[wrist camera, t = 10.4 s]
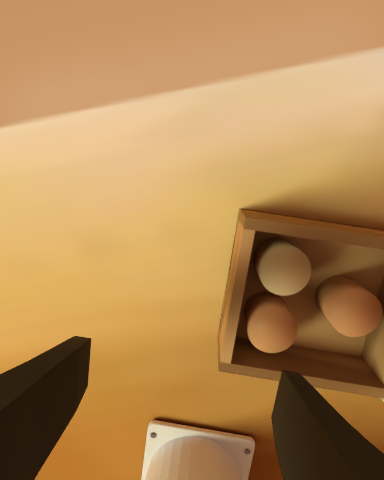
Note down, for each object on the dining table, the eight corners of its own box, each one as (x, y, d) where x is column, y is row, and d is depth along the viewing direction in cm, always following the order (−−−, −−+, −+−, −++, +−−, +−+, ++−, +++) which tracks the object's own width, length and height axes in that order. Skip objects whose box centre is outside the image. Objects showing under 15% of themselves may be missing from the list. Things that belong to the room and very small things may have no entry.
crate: (361, 359, 21) (394, 400, 18) (217, 335, 22) (218, 371, 18) (398, 232, 20) (444, 246, 16) (239, 209, 20) (245, 217, 16)
